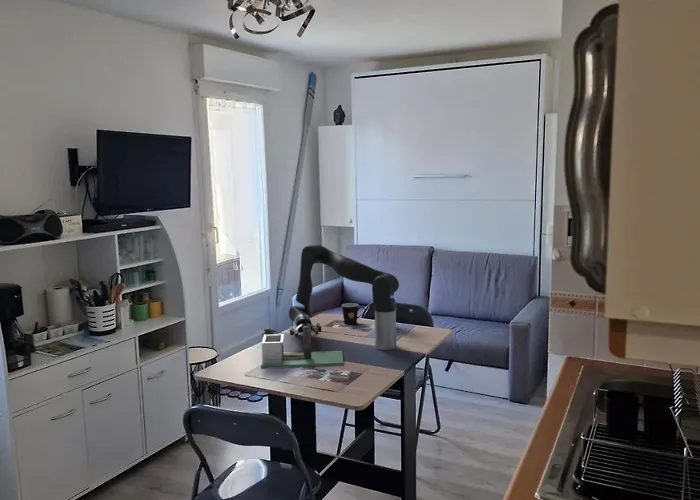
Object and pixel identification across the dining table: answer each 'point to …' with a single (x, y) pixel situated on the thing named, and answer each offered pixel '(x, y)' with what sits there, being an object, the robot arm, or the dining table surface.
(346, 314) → the coffee mug
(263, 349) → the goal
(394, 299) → the beverage bottle
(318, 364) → the board
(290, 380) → the dining table surface
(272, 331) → the lighter
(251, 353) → the dining table surface
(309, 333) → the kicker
